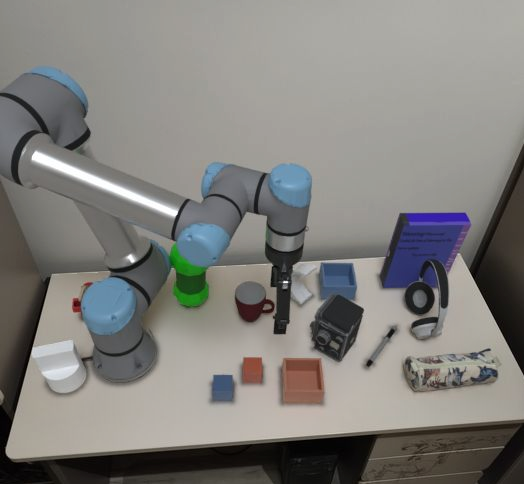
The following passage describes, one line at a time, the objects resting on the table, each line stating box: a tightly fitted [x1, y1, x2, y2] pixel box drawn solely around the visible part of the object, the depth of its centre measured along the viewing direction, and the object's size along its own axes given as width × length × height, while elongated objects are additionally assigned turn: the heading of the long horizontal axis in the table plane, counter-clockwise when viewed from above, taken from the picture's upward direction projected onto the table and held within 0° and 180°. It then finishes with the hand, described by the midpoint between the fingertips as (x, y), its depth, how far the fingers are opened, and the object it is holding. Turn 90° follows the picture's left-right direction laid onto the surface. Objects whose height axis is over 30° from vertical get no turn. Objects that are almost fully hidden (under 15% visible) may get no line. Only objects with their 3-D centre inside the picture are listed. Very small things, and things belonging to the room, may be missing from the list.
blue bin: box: [318, 262, 358, 301], centre depth 138 cm, size 9×9×5 cm
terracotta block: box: [242, 356, 263, 384], centre depth 119 cm, size 4×4×4 cm
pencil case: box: [403, 347, 503, 392], centre depth 118 cm, size 22×8×10 cm, turn 97°
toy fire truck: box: [71, 281, 94, 315], centre depth 129 cm, size 3×14×10 cm, turn 6°
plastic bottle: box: [169, 242, 210, 308], centre depth 126 cm, size 10×10×25 cm
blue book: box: [379, 212, 472, 289], centre depth 134 cm, size 17×5×24 cm, turn 93°
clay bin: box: [281, 357, 326, 404], centre depth 117 cm, size 9×9×5 cm
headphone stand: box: [287, 262, 318, 305], centre depth 134 cm, size 5×6×12 cm
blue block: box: [211, 374, 234, 402], centre depth 116 cm, size 4×4×4 cm
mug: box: [234, 280, 276, 323], centre depth 129 cm, size 10×8×10 cm
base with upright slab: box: [31, 339, 88, 394], centre depth 114 cm, size 9×9×12 cm
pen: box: [365, 324, 398, 368], centre depth 127 cm, size 1×16×1 cm, turn 144°
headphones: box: [404, 259, 450, 340], centre depth 126 cm, size 19×8×20 cm, turn 0°
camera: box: [309, 294, 365, 362], centre depth 122 cm, size 10×10×15 cm
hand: (277, 308), depth 111 cm, fingers open, 13 cm apart
